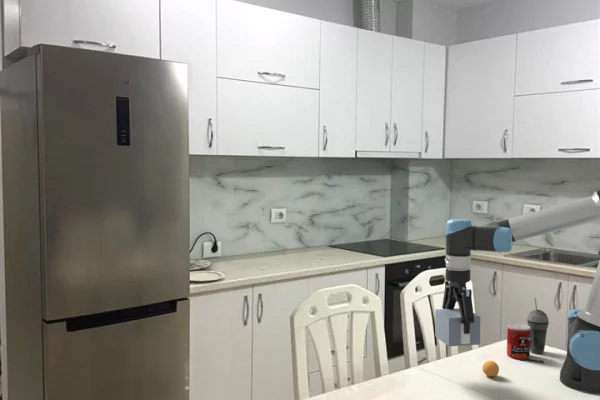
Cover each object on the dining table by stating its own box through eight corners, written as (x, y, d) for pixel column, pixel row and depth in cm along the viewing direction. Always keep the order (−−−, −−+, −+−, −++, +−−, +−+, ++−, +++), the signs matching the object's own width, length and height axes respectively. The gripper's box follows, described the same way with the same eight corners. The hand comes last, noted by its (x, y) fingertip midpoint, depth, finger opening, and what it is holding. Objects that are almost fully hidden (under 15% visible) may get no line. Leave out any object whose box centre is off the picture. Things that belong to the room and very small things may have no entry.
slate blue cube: (464, 334, 178) (465, 308, 177) (479, 344, 168) (480, 316, 167) (435, 336, 176) (435, 309, 176) (448, 346, 166) (449, 318, 165)
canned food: (511, 360, 190) (512, 329, 189) (503, 352, 198) (504, 322, 197) (533, 360, 189) (534, 329, 189) (524, 352, 197) (525, 322, 197)
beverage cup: (550, 356, 193) (552, 301, 192) (528, 354, 195) (530, 299, 193) (545, 349, 200) (547, 296, 199) (524, 348, 202) (525, 295, 201)
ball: (486, 354, 176) (476, 366, 176) (497, 362, 171) (486, 374, 171) (494, 362, 178) (484, 374, 178) (504, 370, 174) (494, 382, 173)
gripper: (432, 262, 181) (431, 328, 182) (463, 275, 159) (462, 350, 160) (453, 261, 182) (452, 327, 184) (487, 274, 160) (486, 349, 161)
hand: (457, 337), depth 172 cm, fingers closed on slate blue cube, 10 cm apart
